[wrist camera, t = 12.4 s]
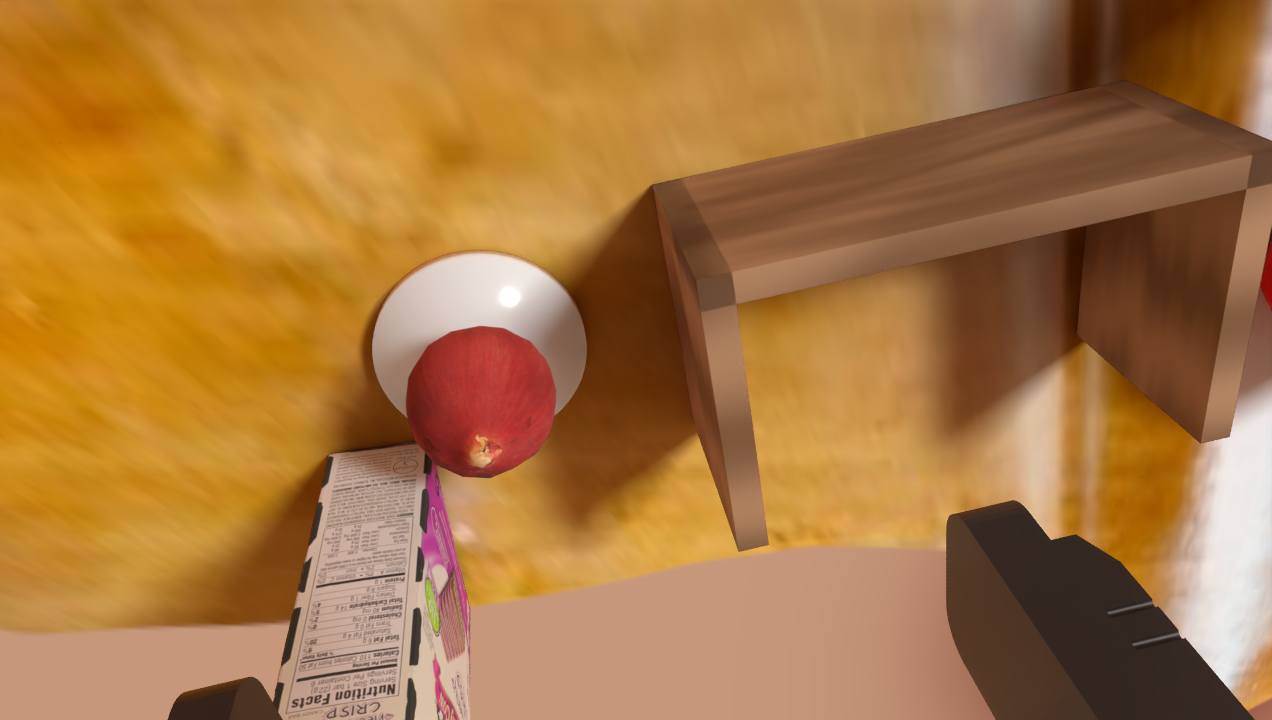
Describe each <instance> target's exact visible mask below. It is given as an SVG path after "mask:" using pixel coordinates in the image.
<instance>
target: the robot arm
mask: <svg viewBox="0 0 1272 720" xmlns="http://www.w3.org/2000/svg"><path fill="white" fill-rule="evenodd" d="M946 555H947V556H946V560H947V561H946V574H947V575H946V605H947V616H948V621H949V625H950V629H951V632H952V636H953V639H954V642H955V645H956V647H957V649H958V652H959V654H960V656H961V658H962V660H963V662H964V664H965V666H966V668H967V669H968V671H969V673H970V675H971V676H972V678H973V680H974V682H975V684H976V685H977V687H978V689H979V690H980V692H981V694H982V696H983V698H984V699H985V701H986V703H987V705H988V706H989V708H990V710H991V712H992V714H993V715H994V717H995V719H996V720H1254V718H1253V717H1252V716H1251V715H1250V714H1249V713H1248V711H1247V710H1246V709H1245V708H1244V707H1243V705H1242V704H1241V703H1240V702H1239V701H1238V700H1237V698H1236V697H1235V696H1234V695H1233V694H1232V693H1231V691H1230V690H1229V689H1228V688H1227V687H1226V685H1225V684H1224V683H1223V682H1222V681H1221V680H1220V678H1219V677H1218V676H1217V675H1216V674H1215V673H1214V671H1213V670H1212V669H1211V668H1210V667H1209V665H1208V664H1207V663H1206V662H1205V661H1204V660H1203V658H1202V657H1201V656H1200V655H1199V654H1198V653H1197V651H1196V650H1195V649H1194V648H1193V647H1192V645H1191V644H1190V643H1189V642H1188V641H1187V640H1186V638H1184V639H1182V638H1181V637H1180V635H1179V632H1178V629H1177V628H1176V627H1175V625H1174V624H1173V623H1172V622H1171V621H1170V620H1169V618H1168V617H1167V616H1166V615H1165V614H1164V613H1163V611H1162V610H1161V609H1160V608H1159V607H1155V606H1154V605H1153V602H1152V598H1151V597H1150V596H1149V595H1148V594H1147V593H1146V591H1145V590H1144V589H1143V588H1142V587H1141V585H1140V584H1139V583H1138V582H1137V581H1136V580H1135V578H1134V577H1133V576H1132V575H1131V574H1130V573H1129V571H1128V570H1127V569H1126V568H1125V567H1124V565H1123V564H1122V563H1121V562H1120V561H1118V560H1116V559H1115V558H1113V557H1112V556H1110V555H1108V554H1107V553H1105V552H1103V551H1102V550H1100V549H1099V548H1097V547H1095V546H1094V545H1092V544H1090V543H1089V542H1087V541H1086V540H1084V539H1082V538H1081V537H1079V536H1078V535H1076V534H1075V535H1071V536H1067V537H1062V538H1058V539H1054V540H1050V538H1049V537H1048V536H1047V535H1046V533H1045V532H1044V531H1043V529H1042V528H1041V527H1040V526H1039V524H1038V523H1037V522H1036V520H1035V519H1034V518H1033V517H1032V515H1031V514H1030V513H1029V511H1028V510H1027V509H1026V508H1025V507H1024V506H1023V505H1022V504H1021V503H1019V502H1017V501H1014V500H1012V501H1008V502H1004V503H999V504H995V505H991V506H987V507H982V508H978V509H974V510H970V511H965V512H961V513H957V514H952V515H950V516H949V518H948V520H947V528H946ZM168 720H283V719H282V718H281V716H280V714H279V712H278V711H277V709H276V707H275V706H274V704H273V702H272V701H271V699H270V697H269V695H268V694H267V692H266V690H265V689H264V687H263V686H262V684H261V683H260V682H259V681H258V680H257V679H256V678H254V677H248V678H243V679H239V680H234V681H230V682H226V683H221V684H217V685H214V686H209V687H205V688H200V689H196V690H192V691H188V692H184V693H182V694H181V695H180V696H179V697H178V698H177V699H176V701H175V702H174V704H173V707H172V709H171V712H170V714H169V718H168Z"/></svg>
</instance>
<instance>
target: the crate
mask: <svg viewBox="0 0 1272 720" xmlns="http://www.w3.org/2000/svg"><path fill="white" fill-rule="evenodd" d="M652 186H653V192H654V198H655V204H656V209H657V215H658V221H659V226H660V232H661V238H662V243H663V249H664V255H665V261H666V266H667V272H668V278H669V283H670V289H671V295H672V300H673V306H674V312H675V318H676V323H677V329H678V335H679V340H680V346H681V352H682V357H683V363H684V369H685V374H686V380H687V386H688V392H689V397H690V403H691V409H692V414H693V420H694V424H695V427H696V430H697V433H698V436H699V439H700V441H701V444H702V447H703V450H704V453H705V456H706V459H707V462H708V464H709V467H710V470H711V473H712V476H713V479H714V482H715V485H716V487H717V490H718V493H719V496H720V499H721V502H722V505H723V508H724V510H725V513H726V516H727V519H728V522H729V525H730V528H731V531H732V533H733V536H734V539H735V542H736V545H737V548H738V551H739V552H740V551H745V550H749V549H753V548H757V547H762V546H766V545H769V543H768V535H767V528H766V520H765V513H764V505H763V498H762V491H761V483H760V476H759V468H758V461H757V454H756V446H755V439H754V431H753V424H752V417H751V409H750V402H749V394H748V387H747V379H746V372H745V365H744V357H743V350H742V342H741V335H740V328H739V320H738V313H737V305H736V304H740V303H744V302H749V301H753V300H758V299H762V298H767V297H771V296H776V295H780V294H784V293H789V292H793V291H798V290H802V289H807V288H811V287H815V286H820V285H824V284H829V283H833V282H838V281H842V280H846V279H851V278H855V277H860V276H864V275H869V274H873V273H877V272H882V271H886V270H891V269H895V268H900V267H904V266H908V265H913V264H917V263H922V262H926V261H931V260H935V259H939V258H944V257H948V256H953V255H957V254H962V253H966V252H970V251H975V250H979V249H984V248H988V247H993V246H997V245H1001V244H1006V243H1010V242H1015V241H1019V240H1024V239H1028V238H1032V237H1037V236H1041V235H1046V234H1050V233H1055V232H1059V231H1063V230H1068V229H1072V228H1077V227H1081V226H1086V232H1085V244H1084V256H1083V267H1082V279H1081V291H1080V302H1079V314H1078V326H1077V335H1078V336H1079V337H1080V338H1081V339H1082V340H1083V341H1084V342H1086V343H1087V344H1088V345H1089V346H1090V347H1091V348H1092V349H1094V350H1095V351H1096V352H1097V353H1098V354H1099V355H1100V356H1102V357H1103V358H1104V359H1105V360H1106V361H1107V362H1108V363H1110V364H1111V365H1112V366H1113V367H1114V368H1115V369H1116V370H1117V371H1119V372H1120V373H1121V374H1122V375H1123V376H1124V377H1125V378H1127V379H1128V380H1129V381H1130V382H1131V383H1132V384H1133V385H1135V386H1136V387H1137V388H1138V389H1139V390H1140V391H1141V392H1143V393H1144V394H1145V395H1146V396H1147V397H1148V398H1149V399H1150V400H1152V401H1153V402H1154V403H1155V404H1156V405H1157V406H1158V407H1160V408H1161V409H1162V410H1163V411H1164V412H1165V413H1166V414H1168V415H1169V416H1170V417H1171V418H1172V419H1173V420H1174V421H1175V422H1177V423H1178V424H1179V425H1180V426H1181V427H1182V428H1183V429H1185V430H1186V431H1187V432H1188V433H1189V434H1190V435H1191V436H1193V437H1194V438H1195V439H1196V440H1197V441H1198V442H1199V443H1205V442H1210V441H1214V440H1218V439H1222V438H1227V437H1230V432H1231V427H1232V422H1233V417H1234V412H1235V407H1236V402H1237V397H1238V392H1239V387H1240V382H1241V377H1242V372H1243V367H1244V362H1245V357H1246V352H1247V347H1248V342H1249V337H1250V332H1251V327H1252V322H1253V317H1254V312H1255V307H1256V302H1257V297H1258V292H1259V287H1260V282H1261V277H1262V272H1263V267H1264V262H1265V257H1266V252H1267V247H1268V242H1269V237H1270V232H1271V227H1272V141H1271V140H1269V139H1266V138H1264V137H1261V136H1259V135H1257V134H1254V133H1252V132H1249V131H1247V130H1245V129H1242V128H1240V127H1237V126H1235V125H1233V124H1230V123H1228V122H1225V121H1223V120H1221V119H1218V118H1216V117H1213V116H1211V115H1209V114H1206V113H1204V112H1201V111H1199V110H1197V109H1194V108H1192V107H1189V106H1187V105H1185V104H1182V103H1180V102H1177V101H1175V100H1173V99H1170V98H1168V97H1165V96H1163V95H1161V94H1158V93H1156V92H1153V91H1151V90H1149V89H1146V88H1144V87H1141V86H1139V85H1137V84H1134V83H1132V82H1129V81H1127V80H1124V81H1120V82H1115V83H1111V84H1106V85H1102V86H1097V87H1093V88H1088V89H1083V90H1079V91H1074V92H1070V93H1065V94H1061V95H1056V96H1052V97H1047V98H1043V99H1038V100H1034V101H1029V102H1025V103H1020V104H1016V105H1011V106H1007V107H1002V108H997V109H993V110H988V111H984V112H979V113H975V114H970V115H966V116H961V117H957V118H952V119H948V120H943V121H939V122H934V123H930V124H925V125H921V126H916V127H911V128H907V129H902V130H898V131H893V132H889V133H884V134H880V135H875V136H871V137H866V138H862V139H857V140H853V141H848V142H844V143H839V144H835V145H830V146H825V147H821V148H816V149H812V150H807V151H803V152H798V153H794V154H789V155H785V156H780V157H776V158H771V159H767V160H762V161H758V162H753V163H749V164H744V165H739V166H735V167H730V168H726V169H721V170H717V171H712V172H708V173H703V174H699V175H694V176H690V177H685V178H681V179H676V180H672V181H667V182H663V183H658V184H653V185H652Z"/></svg>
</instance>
